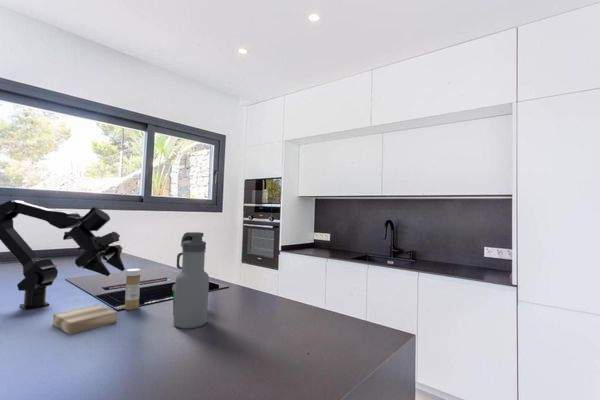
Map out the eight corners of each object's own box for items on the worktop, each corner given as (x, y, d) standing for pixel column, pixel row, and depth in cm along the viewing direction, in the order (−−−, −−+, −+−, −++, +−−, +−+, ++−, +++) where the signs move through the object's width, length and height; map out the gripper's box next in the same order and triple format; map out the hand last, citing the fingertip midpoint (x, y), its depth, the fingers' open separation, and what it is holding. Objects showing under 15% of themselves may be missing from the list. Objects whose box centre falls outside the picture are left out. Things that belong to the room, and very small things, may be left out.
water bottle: (167, 322, 95) (171, 231, 96) (196, 315, 102) (200, 231, 103) (182, 332, 88) (187, 233, 89) (213, 324, 95) (217, 233, 96)
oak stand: (52, 324, 91) (53, 314, 91) (97, 314, 101) (98, 304, 101) (70, 334, 84) (71, 323, 84) (116, 322, 94) (116, 312, 94)
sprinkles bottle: (139, 305, 111) (141, 267, 111) (138, 309, 107) (140, 270, 107) (124, 306, 109) (126, 268, 109) (123, 310, 105) (125, 270, 105)
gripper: (86, 225, 100) (119, 260, 99) (118, 223, 118) (146, 253, 118) (60, 249, 99) (93, 284, 99) (96, 243, 118) (124, 273, 117)
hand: (116, 272), depth 108 cm, fingers open, 9 cm apart
